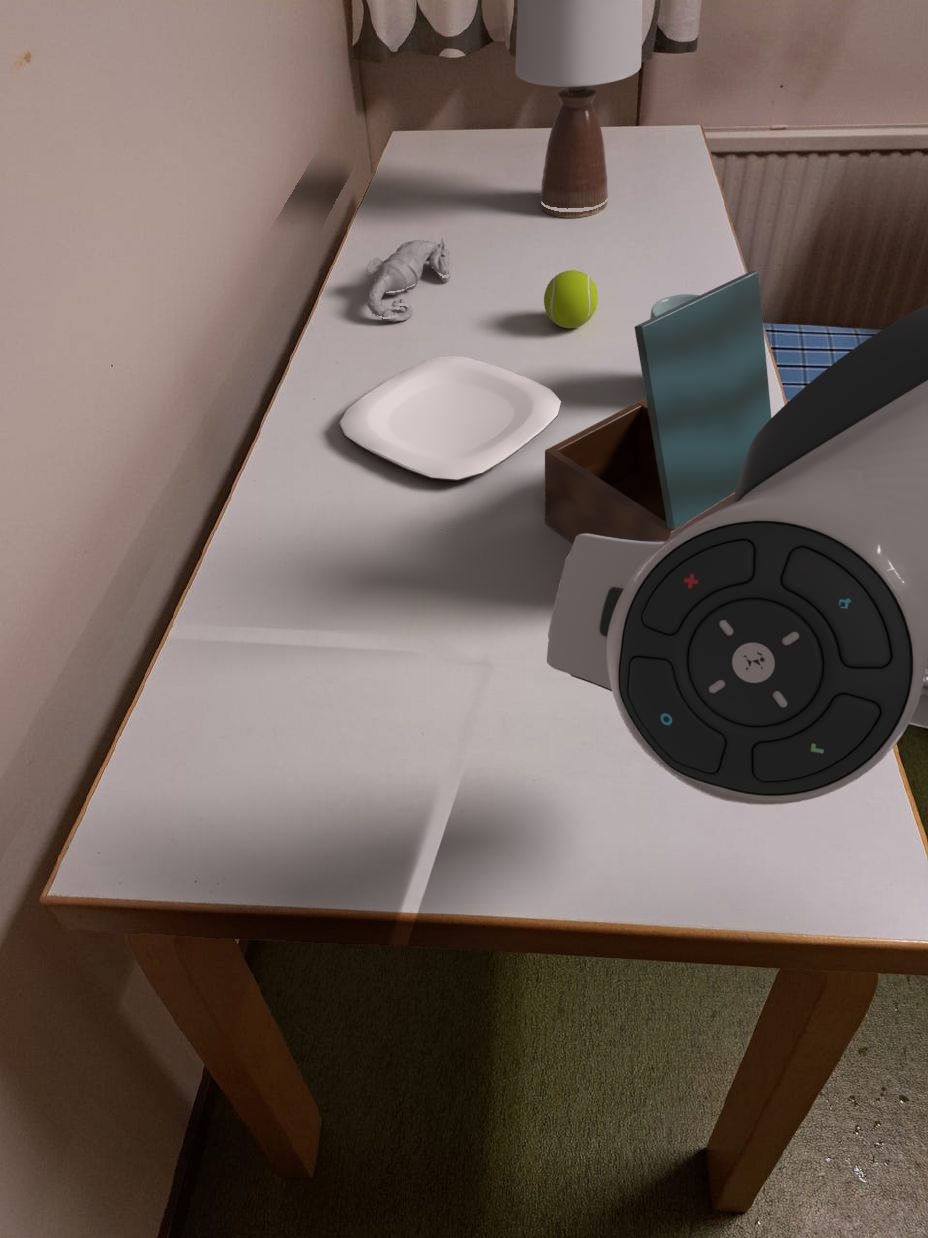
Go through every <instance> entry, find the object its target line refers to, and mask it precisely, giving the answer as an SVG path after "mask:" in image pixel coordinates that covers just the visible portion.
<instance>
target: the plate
mask: <svg viewBox="0 0 928 1238" xmlns="http://www.w3.org/2000/svg"><path fill="white" fill-rule="evenodd" d="M561 405H562V401H561V400H560V398H559V397H558V396H557V395H556V394H555V393H554V391H553V390H552V389H551V388H549V387H547V386H545V385H543V384H541V383H539V382H537V381H534V380H533V379H531V378H528V377H526V376H523V375H522V374H521V375H520V374H518V373H515V372H513V371H511V370H508V369H506V368H502V367H499V366H497V365H494V364H491V363H489V362H485V361H481V360H477V359H474V358H470V357H466V356H451V355H450V356H449V355H442V356H439V357H435V358H431V359H427V360H423V361H421V362H419V363H417V364H415V365H412V366H411V367H409V368H407V369H405V370H402V371H401V372H400V373H398V374H396V375H395V376H393V377H391V378H390V379H388V380H386V381H384V382H383V383H381V384H380V385H378V386H377V387H376V388H373V390H371V391H369V392H368V393H366V394H365V395H363V396H362V397H361V398H360V399H359V400H357V401H356V402H354V403H353V404H352V405H350V407H348V408H347V409H345V413H344V414H343V416H342V418H341V419H340V421H339V427H340V428H341V430H342V432H343V434H344V436H345V437H346V439H348V440H349V441H351V442H352V443H354V444H356V445H357V446H359V447H360V448H362V449H364V450H365V451H368V452H369V453H371V454H373V455H375V456H377V457H379V458H381V459H384V460H385V461H386V462H387V461H388V462H390V463H391V464H394V465H396V466H398V467H400V468H402V469H404V470H407V471H409V472H412V473H413V474H414V473H415V474H417V475H420V476H422V477H426V478H429V479H431V480H443V481H454V482H459V481H463V480H467V479H470V478H473V477H476V476H480V475H483V474H485V473H487V472H489V471H490V470H492V469H493V468H495V467H497V466H498V465H500V464H501V463H503V462H505V461H507V459H509V458H510V457H512V456H513V455H514V454H515V453H517V452H518V451H519V450H521V449H522V448H524V447H525V446H526V445H528V444H529V443H530V442H531V441H533V440H534V439H535V438H536V437H538V436H539V435H540V434H541V433H543V432H544V431H545V429H547V428H548V427H549V426H550V425H551V424H552V423H553V422H554V421H555V420H556V418H558V416H559V412H560V409H561Z"/></svg>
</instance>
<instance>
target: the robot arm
mask: <svg viewBox="0 0 928 1238" xmlns="http://www.w3.org/2000/svg"><path fill="white" fill-rule="evenodd" d="M552 609H553V610H552V614H551V618H550V623H549V628H548V632H547V639H548V641H547V650H546V651H547V652H546V663H547V665H548V666H549V667H550V668H552V669H554V670H557V671H559V672H562V673H565V674H568V675H570V677H573V678H575V679H578V680H581V681H584V682H586V683H588V684H589V683H590V684H591V685H595V686H597V687H600V688H602V689H604V690H607V691H610V692H611V693H612V695H613V699H614V702H615V704H616V707H617V711H618V713H619V715H620V717H621V719H622V721H623V723H624V725H625V727H626V729H627V731H628V732H629V733H630V735H631V736H632V738H633V739H634V741H635V742H636V743H637V745H639V747H640V748H641V750H643V751H644V753H645V754H646V755H647V756H648V757H649V758H650V759H652V760H653V762H655V763H656V764H657V765H658V766H660V768H662V769H663V770H665V771H666V772H667V773H669V774H670V775H671V776H673V777H674V778H675V779H677V780H678V781H679V782H681V783H682V784H684V785H686V786H688V787H690V788H692V789H694V790H696V791H698V792H700V793H702V794H704V795H707V796H709V797H711V798H714V799H718V800H722V801H725V802H729V803H736V804H744V805H751V806H752V805H754V806H778V805H779V806H781V805H789V804H795V803H800V802H805V801H809V800H814V799H817V798H821V797H823V796H826V795H829V794H831V793H833V792H837V791H839V790H840V789H843V788H845V787H847V786H848V785H850V784H852V783H854V782H856V781H857V780H859V779H860V778H862V777H863V776H865V775H866V774H867V773H868V772H870V771H871V770H872V769H874V767H876V766H877V765H879V763H880V762H881V761H882V760H883V759H885V757H886V756H887V755H888V754H889V753H890V752H891V751H892V750H893V748H894V747H895V746H896V745H897V744H898V742H899V740H900V738H902V737H903V735H904V733H905V731H906V729H907V727H908V726H909V725H911V726H915V727H919V728H924V729H928V304H926V305H923V306H922V307H919V308H917V309H915V310H914V311H912V312H910V313H908V314H906V315H905V316H903V317H901V318H899V319H898V320H896V321H894V322H893V323H891V324H890V325H888V326H886V327H884V328H882V329H881V330H880V331H878V332H877V333H875V334H873V335H872V336H871V337H869V338H867V339H866V340H865V341H862V343H860V344H859V345H857V346H856V347H854V348H853V349H851V350H849V352H847V353H846V354H844V355H843V356H841V357H840V358H839V359H838V360H836V361H835V362H834V363H833V364H831V365H829V366H828V367H827V368H826V369H825V370H824V371H822V372H821V373H820V374H819V375H817V376H816V377H814V378H813V380H811V381H810V382H809V383H808V384H807V385H805V386H804V387H803V388H802V389H801V390H800V391H799V392H798V393H796V394H795V395H794V396H793V397H792V398H791V399H790V400H789V401H788V402H787V403H786V404H784V405H783V407H781V408H780V409H779V410H778V411H777V412H776V413H775V414H774V415H773V416H771V419H770V420H769V421H768V422H767V423H766V424H765V426H764V427H763V428H762V429H761V430H760V431H759V433H758V434H757V435H756V437H755V438H754V439H753V441H752V443H751V446H750V448H749V451H748V453H747V456H746V459H745V462H744V465H743V468H742V470H741V473H740V477H739V480H738V484H737V488H736V493H735V499H734V504H732V505H730V506H728V507H726V508H723V509H721V510H719V511H717V512H715V513H713V514H711V515H709V516H707V517H705V518H703V519H701V520H699V521H697V522H695V523H694V524H692V525H690V526H688V527H686V528H685V529H683V530H682V531H680V532H678V533H677V534H675V535H674V536H673V537H671V538H670V539H668V540H667V541H658V540H644V539H634V538H626V537H618V536H611V535H603V536H599V535H593V534H587V533H585V534H580V535H578V536H576V538H575V541H574V543H573V544H572V546H571V548H570V551H569V553H568V554H567V556H566V557H565V561H564V565H563V569H562V572H561V576H560V580H559V584H558V588H557V592H556V596H555V600H554V605H553V608H552Z"/></svg>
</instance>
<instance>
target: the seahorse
mask: <svg viewBox="0 0 928 1238" xmlns="http://www.w3.org/2000/svg"><path fill="white" fill-rule="evenodd" d="M426 262H428V265H429V267H430V266H431V267H433V268H432V269H433V271H434V272H436V271H437V272H439V273H441V274H443V275H447V274H450V276H449V277H448V278H442V276H440V275H438V277H439V279H441V282H443V283H444V284H446V283H448V282H449V281H450V279H451V272H450V267H449V266H450V251H449V250H448V249H447V248H446V245H445V241H444V239H442V238H441V241H440V243H436V242H433V241H429V240H425V239H420V240H417V239H415V240H411V241H407V242H404V243H402V244H401V245H400V246H399V247H398V248H397V249H396V250H395V252H394V253H392V254H390V256H388V258H386V259H384V260H382V259H380V258H379V257H375V258H372V259H371V260H370V261H369V263H368V264H367V266H366V269H365V271H366V272H367V273H368V274H371V275H372V274H373V275H374V282H373V284H372V286H370V288H369V292H368V293H367V304H366V305H367V308H368V309H369V311H371V314H372V315H373V314H375V315H374V316H376V317H378V316H382V317H388V316H392V315H396V313H397V311H402V310H403V308H404V311H402V312H399V313H398V314H399V315H398V316H397V317H395V318H391V319H383V318H381V320H382V321H389V322H393V323H395V322H404V321H405V322H406V321H407V320H409V319H410V318H411V317H412V315H413V311H414V308H413V307H412V306H411V304H410V305H409V306H408V307H409V308H408V307H406V306H399V308H402V309H399V310H396V309H394V310H395V311H394V314H393V311H392V309H388V308H387V307H386V305H384V304H383V302H382V298H383V297H384V295H385V294H386V295H390V296H395V295H399V294H402V293H404V292H406V291H412V290H414V289H415V288H416V286H412V287H409V286H411V285H413V284H415V283H417V284H418V282H419V280H420V279H419V277H421V278H422V274H423V271H424V270H423V269H424V265H425V263H426ZM431 267H430V268H431ZM448 267H449V269H448ZM418 279H419V280H418ZM407 287H409V288H407ZM406 288H407V289H406ZM402 289H405V290H404V291H401V292H395V293H386V292H389V291H397V290H402ZM404 301H405V300H403V298H400V299H398V300H393V301H392V303H391V307H392V306H393V307H398V305H396V304H398V303H403V302H404ZM393 307H392V308H393ZM401 313H402V314H401ZM377 315H378V316H377Z"/></svg>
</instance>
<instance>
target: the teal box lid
mask: <svg viewBox="0 0 928 1238" xmlns="http://www.w3.org/2000/svg"><path fill="white" fill-rule="evenodd" d="M762 309H763V307H762V298H761V287H760V276H759V271H757V270H755V271H754V270H751V271H748V272H746V273H744V274H742V275H741V276H738V277H736V278H734V279H732V280H730V281H728V282H725V283H724V284H721V285H719V286H717V287H715V288H713V289H711V290H709V291H705V292H704V293H702V294H700V296H698V297H696V298H694V299H692V300H689V301H687V302H685V303H683V304H681V305H679V306H677V307H675V308H673V309H671V310H668V311H666V312H664V313H662V314H660V315H658V316H656V317H654V318H652V319H650V318H649V319H648V320H645V321H643V322H641V323H639V324H637V325H635V326H634V334H635V339H636V345H637V352H638V357H639V364H640V370H641V376H642V381H643V382H642V383H643V388H644V394H645V399H646V400H645V401H646V402H647V406H648V412H649V418H650V424H651V430H652V436H653V442H654V448H655V454H656V460H657V466H658V473H659V479H660V485H661V491H662V497H663V503H664V509H665V515H666V521H667V527H668V528H671V529H676V528H677V527H679V526H680V525H682V524H684V523H685V522H687V521H689V520H690V519H692V518H693V517H695V516H697V515H698V514H700V513H702V512H703V511H705V510H706V509H708V508H710V507H711V506H713V505H714V504H716V503H718V502H719V501H721V500H723V499H724V498H726V497H727V496H729V495H731V494H732V493H734V492H735V491H736V488H737V484H738V480H739V477H740V473H741V470H742V468H743V465H744V462H745V459H746V456H747V453H748V451H749V448H750V446H751V443H752V441H753V439H754V438H755V437H756V435H757V434H758V433H759V431H760V430H761V429H762V428H763V427H764V426H765V424H766V423H767V422H768V421H769V420H770V419H771V418H772V409H771V408H772V407H771V398H770V387H769V385H770V384H769V375H768V374H769V373H768V365H767V353H766V344H765V341H766V340H765V333H764V332H765V331H764V322H763V321H764V319H763V310H762Z"/></svg>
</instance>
